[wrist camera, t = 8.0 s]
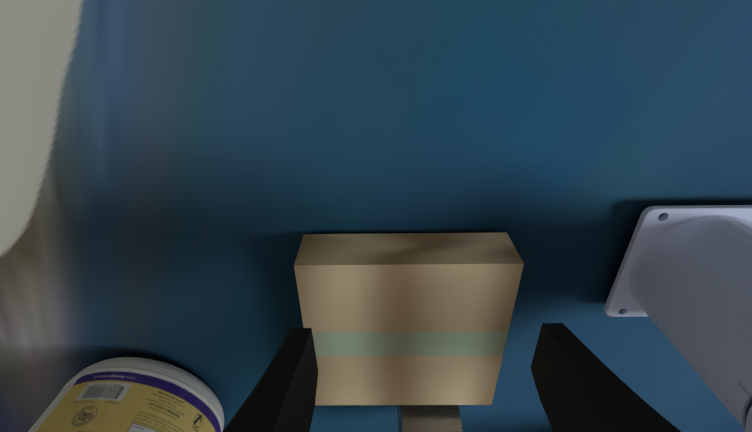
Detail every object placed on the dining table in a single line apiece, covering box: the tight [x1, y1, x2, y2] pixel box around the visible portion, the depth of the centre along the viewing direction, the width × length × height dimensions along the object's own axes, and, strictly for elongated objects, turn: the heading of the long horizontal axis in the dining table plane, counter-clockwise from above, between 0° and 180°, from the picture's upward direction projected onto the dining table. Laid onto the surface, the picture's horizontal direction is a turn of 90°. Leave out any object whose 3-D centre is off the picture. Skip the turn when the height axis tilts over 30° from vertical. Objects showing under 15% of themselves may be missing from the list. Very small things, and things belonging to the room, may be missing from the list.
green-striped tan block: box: [294, 233, 524, 405], centre depth 24 cm, size 12×12×3 cm
